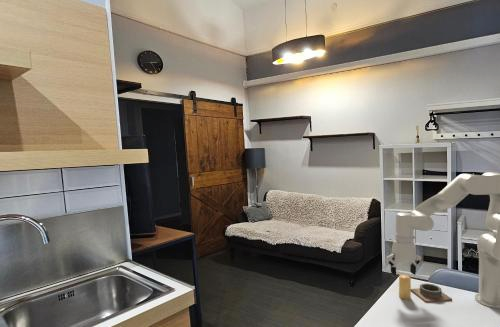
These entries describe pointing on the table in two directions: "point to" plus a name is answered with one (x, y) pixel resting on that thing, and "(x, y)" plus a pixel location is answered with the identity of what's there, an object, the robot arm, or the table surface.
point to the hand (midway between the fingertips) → (403, 273)
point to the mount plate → (444, 297)
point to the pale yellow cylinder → (404, 287)
